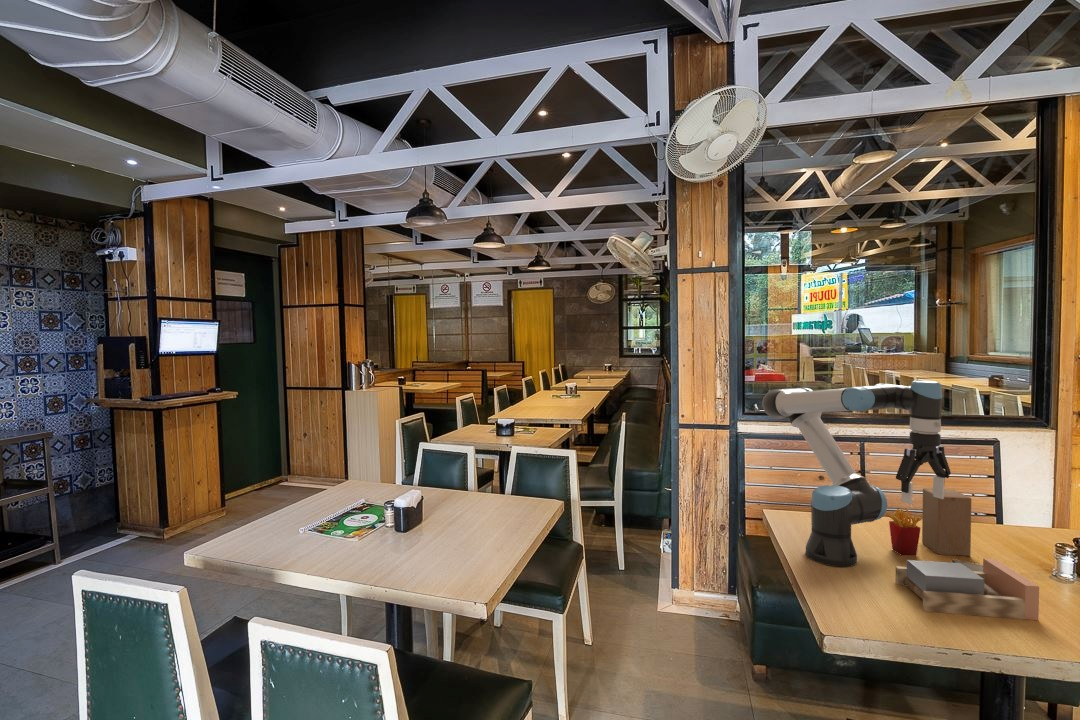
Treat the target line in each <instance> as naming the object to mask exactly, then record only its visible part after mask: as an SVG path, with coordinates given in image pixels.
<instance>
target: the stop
mask: <svg viewBox="0 0 1080 720" xmlns="http://www.w3.org/2000/svg"><path fill="white" fill-rule="evenodd" d="M982 561H983V562H982V565H983V572H984V573H986V584H987V585H988V586H990V587H991V588H992V589H994V590H995V591H997V592H998V593H999V594H1001V595H1002V596H1005V597H1019V598H1022V599H1024V600H1025V619H1024V620H1030V621H1039V615H1040V614H1039V612H1040V611H1039V610H1040V608H1039V607H1040V606H1039V605H1040V604H1039V603H1040V586H1039V585H1038V584H1037V583H1034V582H1033V581H1031V580H1029V579H1028V578H1026V577H1025V576H1023V575H1022V574H1020V573H1018V572H1016V571H1015V570H1013V569H1012V568H1010V567H1008V566H1007V565H1006V564H1004V563H1002V562H1000V561H999V560H997V559H996V558H983V559H982Z"/></svg>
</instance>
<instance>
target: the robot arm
mask: <svg viewBox="0 0 1080 720" xmlns="http://www.w3.org/2000/svg"><path fill="white" fill-rule="evenodd" d="M942 402H943V386H942V384H941V382H939V381H934V380H913V381H911V384H910V385H908V386H907V385H898V384H890V383H876V384H874V385H868V386H867V385H865V386H852V387H842V388H830V389H821V390H820V389H819V390H813V389H811V388H807V387H801V386H800V387H793V388H792V387H791V388H777V389H776V388H775V389H771V390H769V391H768V392H766V393H765V394H764V396H763V398H762V401H761V406H762V409H763V411H764V412H765V414H766V415H767V416H769V417H770V418H773V419H778V420H779V419H780V420H783V419H785V420H786V419H787V420H788V422H789V423H790V424H791V427H793V428H796V429H799V431H800V433H801V435H802V436H803V438H804V440H805V441H806V443H807V444H808V446H809V448H810V449H811V451H812V452H813V454H814V456H815V458H816V459H817V461H818V462H819V464H820V466H821V467H822V469H823V470H824V473H826V475H827V477H828V479H829V480H830V482H831V483H832V484H830V485H828V484H827V485H826V484H825V485H821V486H820V485H819V486H818V487H815V488H814V489H813V490H812V492H811V499H810V503H811V506H810V507H811V511H810V512H811V513H810V514H811V529H810V530H811V532H810V535H809V537H808V539H807V542H806V545H805V555H806V557H808V559H810V560H812V561H813V562H817V563H820V564H822V565H826V566H830V567H837V568H846V567H848V568H850V567H853V566H855V565H857V564H858V554H857V551H856V548H855V545H854V543H853V540H852V526H853V525H858V524H863V523H872V522H874V521H877V520H881V518H883V517H884V516H886V513H887V508H888V499H887V497H886V495H885V493H884V491H882V489H880V488H879V487H877V486H875V485H872V484H870V483H869V482H868V481H867V479H866V477H865V476H862V475H861V474H860V475H859V474H857V472H856V471H855V469H854V467H853V466H852V465H851V463H850V461H849V460H848V458H847V457H846V455H845V454H844V452H843V451H842V449H841V448H840V446H839V444H838V443H837V441H836V440H835V438H834V437H833V435H832V433H831V432H830V431H829V429H828V427H827V426H826V425H825V423H824V422H823V420H822V419H821V417H822V413H832V412H865V411H874V410H884V409H885V410H887V409H899V410H905V411H909V412H910V413H909V429H910V432H909V439H908V440H909V441H908V442H909V443H910V444H912V448H908V447H907V448H906V447H905V448H904V450H903V457H902V459H901V462H900V464H899V467H898V470H897V472H896V475H895V479H896V480H898V481H901V485H900V486H901V487H900V491H901V498H900V499H901V500H900V501H901V502H902V503H905V504H908V505H913V492H914V490H913V489H914V487H913V485H914V482H912V480H913V478H914V476H915V474H917V472H918V470H919V468H920V466H922V465H924V464H926V463H928V464H929V467H930V468H931V469H932V471H933V472H934V474H935V475H933V478H932V479H933V482H932V484H933V485H932V489H933V497H937V498H940V499H944V489H945V482H946V481H945V480H946V479H949V478H950V475H951V473H952V472H951V469H950V466H949V463H948V461H947V458H946V453H945V446H942V445H941V437H942V436H941V434H940V433H941V431H942V429H941V428H942V427H941V426H942V421H941V420H942V405H943V403H942Z"/></svg>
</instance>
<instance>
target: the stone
mask: <svg viewBox="0 0 1080 720" xmlns="http://www.w3.org/2000/svg"><path fill="white" fill-rule="evenodd" d="M951 563H961V564H963V565H964V566H966V567H967V568H969V569H970V570H972V571H978V572H983V564H978V563H974V562H970V561H965V560H959V559H956V558H953V559H951Z"/></svg>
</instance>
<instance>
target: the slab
mask: <svg viewBox="0 0 1080 720" xmlns="http://www.w3.org/2000/svg"><path fill="white" fill-rule="evenodd" d="M906 567H907V577H908V578H909V579H910V580H911V581H912V582H913V583H915V584H916V585H917V586H918V587H919V588H920V589H921V590H922V591H935V592H949V593H963V594H977V595H984V579H983V578H982V577H980V576H979V575H977V574H976V573H974V572H973V571H972V570H970V569H969V568H967V567H966V566H964V565H963V564H961V563H952V562H947V561H946V562H945V561H935V560H932V561H931V560H913V559H906Z"/></svg>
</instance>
